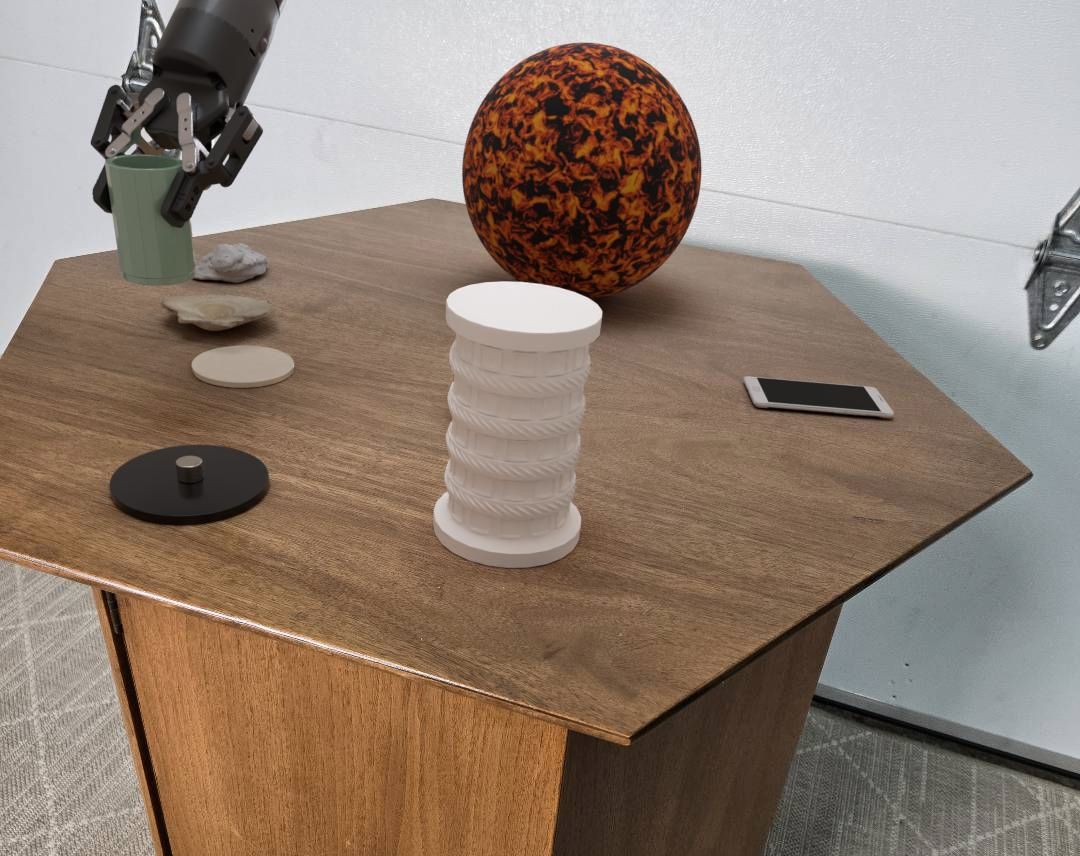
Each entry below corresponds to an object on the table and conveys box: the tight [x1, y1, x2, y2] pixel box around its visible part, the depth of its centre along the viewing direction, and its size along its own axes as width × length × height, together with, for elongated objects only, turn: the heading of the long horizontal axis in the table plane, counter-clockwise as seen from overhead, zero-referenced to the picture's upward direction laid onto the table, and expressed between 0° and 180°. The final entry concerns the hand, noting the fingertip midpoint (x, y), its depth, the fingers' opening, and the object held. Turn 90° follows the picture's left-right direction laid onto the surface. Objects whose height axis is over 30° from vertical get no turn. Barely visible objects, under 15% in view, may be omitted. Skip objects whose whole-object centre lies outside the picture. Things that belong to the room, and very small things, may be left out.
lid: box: [108, 444, 270, 526], centre depth 78 cm, size 12×12×2 cm
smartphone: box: [742, 375, 895, 419], centre depth 105 cm, size 8×1×15 cm
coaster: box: [191, 344, 295, 389], centre depth 99 cm, size 10×10×1 cm
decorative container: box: [432, 280, 603, 569], centre depth 73 cm, size 12×12×18 cm
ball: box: [461, 42, 702, 300], centre depth 123 cm, size 30×30×30 cm
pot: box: [104, 153, 197, 287], centre depth 79 cm, size 6×6×9 cm
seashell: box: [159, 294, 276, 332], centre depth 109 cm, size 12×12×3 cm
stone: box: [193, 242, 270, 284], centre depth 124 cm, size 10×5×10 cm
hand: (136, 214), depth 78 cm, fingers closed on pot, 6 cm apart
